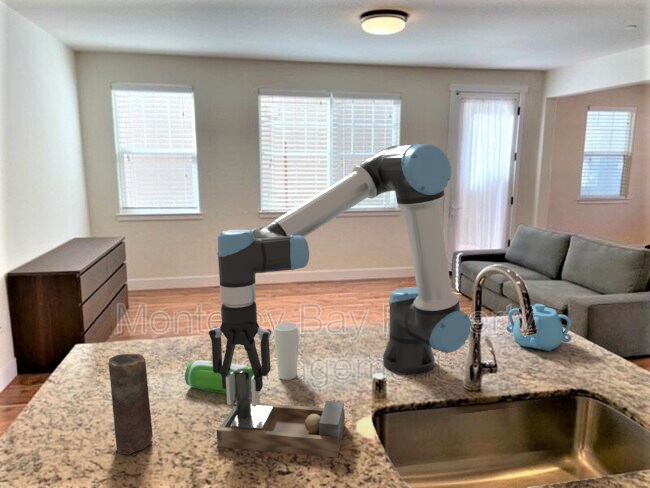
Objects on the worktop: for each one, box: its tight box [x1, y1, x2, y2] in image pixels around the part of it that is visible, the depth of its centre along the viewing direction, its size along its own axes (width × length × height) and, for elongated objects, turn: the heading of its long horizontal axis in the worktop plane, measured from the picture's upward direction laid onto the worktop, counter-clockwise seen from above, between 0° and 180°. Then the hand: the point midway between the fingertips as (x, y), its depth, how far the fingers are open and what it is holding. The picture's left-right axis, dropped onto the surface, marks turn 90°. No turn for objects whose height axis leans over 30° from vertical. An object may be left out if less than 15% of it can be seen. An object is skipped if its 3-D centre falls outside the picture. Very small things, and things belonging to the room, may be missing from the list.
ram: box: [230, 368, 274, 431], centre depth 101 cm, size 7×9×13 cm
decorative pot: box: [506, 303, 572, 352], centre depth 149 cm, size 16×16×14 cm
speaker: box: [184, 359, 254, 395], centre depth 122 cm, size 18×7×8 cm, turn 73°
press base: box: [216, 400, 346, 459], centre depth 101 cm, size 26×12×6 cm, turn 81°
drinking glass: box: [273, 321, 300, 381], centre depth 128 cm, size 7×7×15 cm
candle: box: [108, 353, 154, 455], centre depth 97 cm, size 8×7×20 cm
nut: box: [305, 414, 321, 433], centre depth 100 cm, size 4×4×4 cm
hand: (243, 402), depth 102 cm, fingers open, 5 cm apart
